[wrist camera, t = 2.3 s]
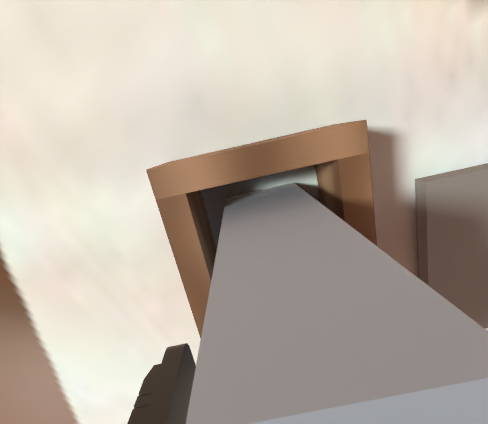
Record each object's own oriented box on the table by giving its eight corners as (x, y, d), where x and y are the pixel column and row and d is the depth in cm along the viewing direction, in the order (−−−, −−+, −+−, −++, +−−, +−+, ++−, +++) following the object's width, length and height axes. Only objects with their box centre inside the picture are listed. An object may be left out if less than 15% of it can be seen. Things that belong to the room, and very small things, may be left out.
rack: (334, 124, 16) (366, 119, 12) (358, 331, 20) (387, 377, 16) (168, 162, 16) (145, 169, 12) (226, 357, 20) (223, 408, 16)
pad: (540, 152, 16) (559, 152, 16) (524, 308, 20) (539, 317, 19) (415, 179, 17) (426, 181, 16) (420, 329, 20) (429, 339, 19)
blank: (293, 182, 17) (536, 368, 3) (313, 300, 19) (497, 686, 6) (226, 197, 17) (183, 435, 3) (254, 312, 19) (295, 716, 6)
